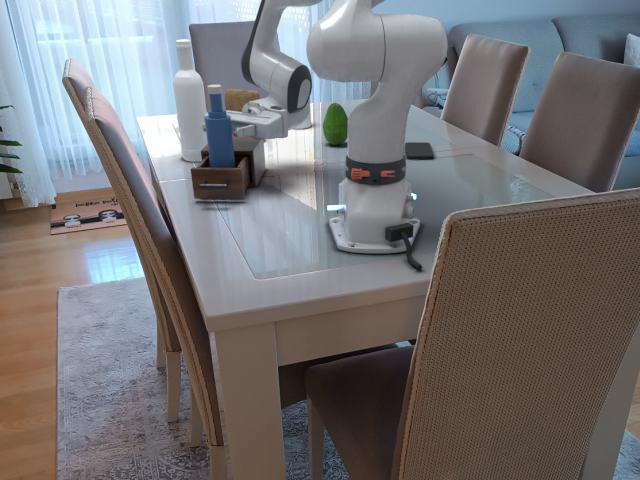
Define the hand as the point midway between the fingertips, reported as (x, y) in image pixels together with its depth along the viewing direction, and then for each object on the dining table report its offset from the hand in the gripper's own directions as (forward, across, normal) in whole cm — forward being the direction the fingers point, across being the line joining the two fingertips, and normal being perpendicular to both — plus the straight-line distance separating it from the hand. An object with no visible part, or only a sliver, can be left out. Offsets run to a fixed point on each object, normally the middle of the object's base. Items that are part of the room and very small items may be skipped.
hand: (220, 130), depth 144 cm
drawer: (+2, +1, +14) cm, 14 cm away
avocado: (-52, -3, +15) cm, 54 cm away
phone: (-57, +22, +14) cm, 63 cm away
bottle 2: (0, 0, +12) cm, 12 cm away
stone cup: (-42, -32, +14) cm, 54 cm away
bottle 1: (-19, -28, +14) cm, 37 cm away
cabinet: (-11, -7, +14) cm, 19 cm away
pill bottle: (-66, -28, +14) cm, 73 cm away
